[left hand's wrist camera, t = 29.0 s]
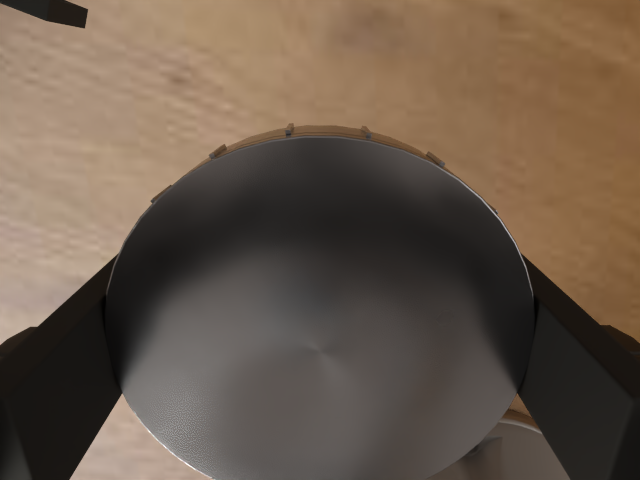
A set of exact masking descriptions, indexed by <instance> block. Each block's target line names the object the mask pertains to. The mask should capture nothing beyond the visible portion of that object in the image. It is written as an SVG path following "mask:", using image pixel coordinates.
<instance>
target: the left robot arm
mask: <svg viewBox="0 0 640 480" xmlns="http://www.w3.org/2000/svg"><path fill="white" fill-rule="evenodd" d="M118 254H119V253H118ZM118 254H117V255H116V256H115V257H114V258H113V259H112V260H111V261H110V262H109V263H107V264H106V265H105V266H104V267H103V268H102V269H101V270H100V271H99V272H98V273H96V274H95V275H94V276H93V277H92V278H91V279H90V280H89V281H88V282H86V283H85V284H84V285H83V286H82V287H81V288H80V289H79V290H78V291H77V292H75V293H74V294H73V295H72V296H71V297H70V298H69V299H68V300H67V301H66V302H64V303H63V304H62V305H61V306H60V307H59V308H58V309H57V310H56V311H55V312H53V313H52V314H51V315H50V316H49V317H48V318H47V319H46V320H45V321H44V322H42V323H41V324H40V325H39V326H38V327H29V328H27V329H26V330H24V331H22V332H20V333H18V334H16V335H14V336H12V337H11V338H9V339H7V340H6V341H5V342H3V343H2V344H1V345H0V480H69V479H70V478H71V476H72V474H73V473H74V471H75V469H76V468H77V466H78V465H79V463H80V461H81V460H82V458H83V456H84V455H85V453H86V452H87V450H88V448H89V447H90V445H91V443H92V442H93V440H94V438H95V437H96V435H97V434H98V432H99V430H100V429H101V427H102V425H103V424H104V422H105V420H106V419H107V417H108V416H109V414H110V412H111V411H112V409H113V407H114V406H115V404H116V403H117V401H118V399H119V398H120V396H121V394H122V391H121V389H120V387H119V385H118V383H117V380H116V377H115V375H114V372H113V369H112V366H111V361H110V357H109V352H108V347H107V342H106V337H105V320H104V312H105V303H106V294H107V288H108V284H109V280H110V277H111V273H112V269H113V266H114V263H115V261H116V259H117V256H118ZM521 255H522V254H521ZM522 257H523V260H524V262H525V264H526V267H527V271H528V274H529V278H530V282H531V286H532V290H533V298H534V308H535V330H534V339H533V344H532V349H531V354H530V359H529V364H528V368H527V371H526V373H525V376H524V379H523V381H522V384H521V386H520V388H519V390H518V392H517V393H518V395H519V396H520V398H521V400H522V401H523V403H524V405H525V406H526V408H527V410H528V411H529V413H530V414H531V416H532V418H531V417H528V416H526V415H524V414H521V413H518V412H515V411H511V410H507V411H506V412H505V414H504V415H503V416H502V418H501V419H500V421H499V422H498V423H497V425H496V426H495V427H494V428H493V429H492V430H491V431H490V432H489V433H488V435H487V436H486V437H485V438H484V439H483V440H482V441H481V442H480V443H479V444H478V445H477V446H475V447H474V448H473V449H472V450H471V451H469V452H468V453H467V454H466V455H465V456H464V457H462V458H461V459H459V460H458V461H456V462H455V463H453V464H452V465H450V466H449V467H447V468H446V469H444V470H443V471H441V472H439V473H437V474H435V475H433V476H432V477H430V478H428V479H426V480H640V343H639V342H637V341H636V340H635V339H634V338H632V337H631V336H629V335H627V334H625V333H623V332H621V331H619V330H617V329H616V328H614V327H612V326H610V325H599V324H598V323H597V322H596V321H595V320H594V319H593V318H592V317H591V316H590V315H588V314H587V313H586V312H585V311H584V310H583V309H582V308H581V307H580V306H579V305H577V304H576V303H575V302H574V301H573V300H572V299H571V298H570V297H569V296H568V295H566V294H565V293H564V292H563V291H562V290H561V289H560V288H559V287H558V286H556V285H555V284H554V283H553V282H552V281H551V280H550V279H549V278H548V277H547V276H545V275H544V274H543V273H542V272H541V271H540V270H539V269H538V268H537V267H536V266H534V265H533V264H532V263H531V262H530V261H529V260H528V259H527V258H526V257H525V256H523V255H522Z"/></svg>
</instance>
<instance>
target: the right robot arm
mask: <svg viewBox="0 0 640 480" xmlns="http://www.w3.org/2000/svg"><path fill="white" fill-rule="evenodd" d="M0 3H1V4H4V5H6V6H9V7H12V8H14V9H17V10H19V11H22V12H25V13H27V14H30V15H32V16H35V17H38V18H40V19H43V20H45V21H49V22H54V23H60V24H65V25H70V26H75V27H80V28H85V24H86V18H87V12H88V9H86V8H83V7H81V6H78V5H76V4H73V3H70V2H68V1H65V0H0Z"/></svg>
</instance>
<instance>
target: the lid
mask: <svg viewBox="0 0 640 480" xmlns="http://www.w3.org/2000/svg"><path fill="white" fill-rule="evenodd" d="M444 165H445V163H444V162H443V161H441V160H440V159H439V158H437V157H436V156H435V155H433V154H432V153H430V152H427V154H424V153H422V152H421V151H419V150H418V149H416V148H414V147H412V146H409V145H407V144H405V143H402V142H400V141H398V140H396V139H393V138H391V137H388V136H384V135H381V134H377V133H374V132H370V130H369V129H368V128H367V127H366V126H362V128H361V129H356V128H348V127H341V126H310V125H306V126H299V127H294V124H293V123H291V124H288V126H287V128H283V129H277V130H273V131H270V132H266V133H262V134H259V135H255V136H251V137H249V138H247V139H244V140H242V141H240V142H237V143H235V144H232V145H230V146H228V147H226V146H225V144H223V145H222V146H220V147H219V148H217V149H216V150H215V151H213V152H212V153H211V154H210V155H209V158H207V159H206V160H204V161H202V162H201V163H200V164H198V165H197V166H196V167H195V168H193V169H192V170H191V171H189V172H188V173H187V174H186V175H184V176H183V177H182V178H181V179H179V180H178V181H177V182H176V183H174V184H173V185H170V186H168V187H167V188H166V189H165V190H163V191H162V192H161V193H159V194H158V195H157V196H155V197H154V198H153V199H152V200H151V202H152V205H151V206H150V207H149V208H148V209H147V210H146V211H145V212H144V213H143V214H142V216H141V217H140V218H139V220H138V221H137V223H136V224H135V226H134V227H133V229H132V230H131V232H130V233H129V235H128V236H127V238H126V239H125V241H124V243H123V245H122V248H121V250H120V252H119V254H118V256H117V259H116V261H115V263H114V266H113V269H112V273H111V277H110V280H109V284H108V288H107V294H106V303H105V312H104V320H105V337H106V342H107V347H108V352H109V357H110V361H111V366H112V369H113V372H114V375H115V377H116V380H117V383H118V385H119V387H120V389H121V391H122V393H123V395H124V397H125V399H126V401H127V402H128V404H129V406H130V407H131V409H132V410H133V412H134V413H135V414H136V416H137V417H138V419H139V420H140V422H141V423H142V424H143V425H144V427H145V428H146V429H147V430H148V431H149V432H150V433H151V434H152V435H153V436H154V437H155V438H156V440H157V441H158V442H159V443H161V444H162V445H163V446H164V447H165V448H166V449H168V450H169V451H170V452H171V453H172V454H173V455H175V456H176V457H177V458H179V459H180V460H182V461H183V462H184V463H186V464H187V465H189V466H190V467H192V468H193V469H195V470H196V471H198V472H200V473H202V474H204V475H206V476H208V477H210V478H212V479H213V480H426V479H428V478H430V477H432V476H433V475H435V474H437V473H439V472H441V471H443V470H444V469H446V468H447V467H449V466H450V465H452V464H453V463H455V462H456V461H458V460H459V459H461V458H462V457H464V456H465V455H466V454H467V453H468V452H469V451H471V450H472V449H473V448H474V447H475V446H477V445H478V444H479V443H480V442H481V441H482V440H483V439H484V438H485V437H486V436H487V435H488V433H489V432H490V431H491V430H492V429H493V428H494V427H495V426H496V425H497V423H498V422H499V421H500V419H501V418H502V416H503V415H504V414H505V412H506V411H507V410H508V408H509V407H510V405H511V403H512V401H513V399H514V398H515V396H516V394H517V392H518V390H519V388H520V386H521V384H522V381H523V379H524V376H525V373H526V371H527V368H528V364H529V359H530V354H531V349H532V344H533V339H534V330H535V308H534V298H533V290H532V286H531V282H530V278H529V274H528V271H527V267H526V264H525V262H524V260H523V257H522V255H521V253H520V251H519V248H518V246H517V244H516V242H515V240H514V239H513V237H512V235H511V234H510V232H509V231H508V229H507V228H506V226H505V225H504V223H503V221H502V220H501V218H500V217H499V216H498V215H497V214H498V212H497V210H496V209H494V208H493V207H492V206H490V205H489V204H488V203H487V202H486V201H485V200H484V199H483V198H482V197H481V196H480V195H478V194H477V193H476V192H475V191H474V190H473V189H471V188H470V187H469V186H468V185H467V184H465V183H464V182H463V181H462V180H461V179H459V178H458V177H457V176H456V175H454V174H453V173H452V172H450V171H449V170H448V169H446V168H445V167H444Z"/></svg>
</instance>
